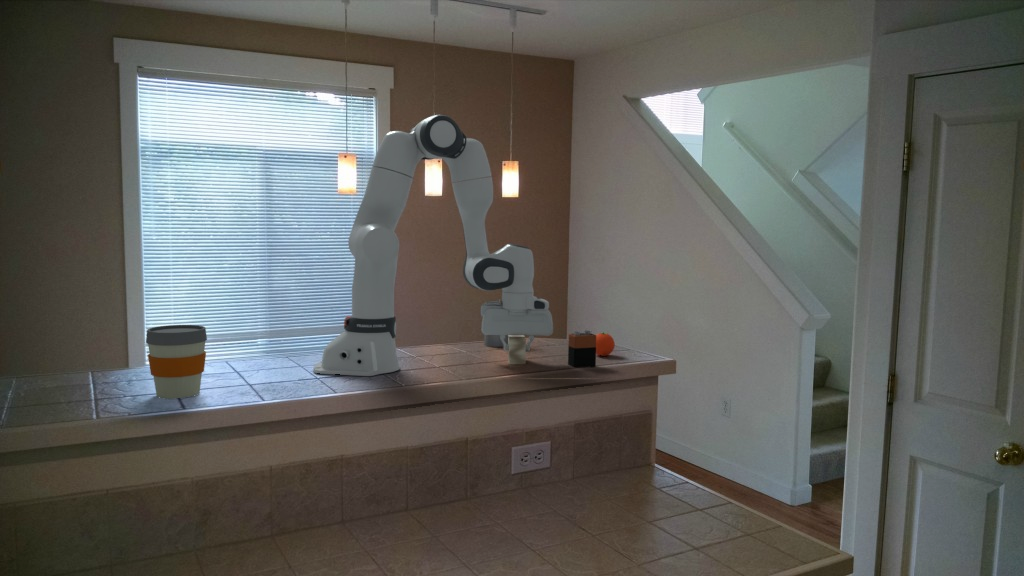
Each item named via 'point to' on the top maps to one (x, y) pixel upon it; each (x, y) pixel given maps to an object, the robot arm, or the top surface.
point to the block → (517, 349)
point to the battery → (582, 349)
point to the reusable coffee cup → (176, 359)
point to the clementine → (604, 344)
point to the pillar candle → (494, 338)
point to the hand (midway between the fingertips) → (516, 350)
